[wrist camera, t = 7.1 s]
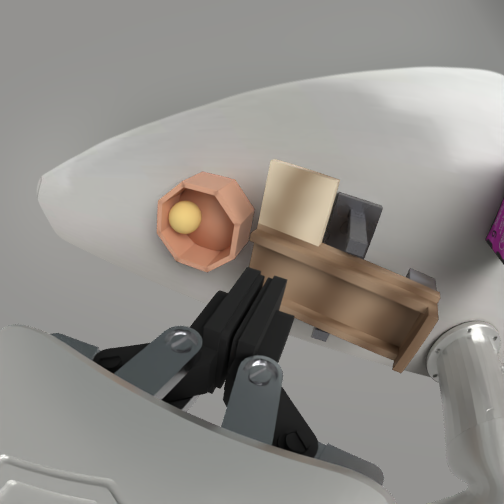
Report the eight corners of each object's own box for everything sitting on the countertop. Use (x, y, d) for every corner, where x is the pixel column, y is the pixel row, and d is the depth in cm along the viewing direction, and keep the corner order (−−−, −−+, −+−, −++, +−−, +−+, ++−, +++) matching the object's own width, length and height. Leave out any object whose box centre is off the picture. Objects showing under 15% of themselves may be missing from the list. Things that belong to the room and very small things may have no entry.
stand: (381, 205, 31) (390, 238, 23) (342, 305, 38) (336, 353, 30) (339, 192, 32) (334, 219, 24) (306, 293, 39) (292, 340, 31)
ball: (205, 209, 34) (169, 208, 32) (201, 240, 36) (167, 239, 34) (201, 196, 37) (169, 194, 36) (198, 225, 39) (168, 224, 38)
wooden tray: (462, 221, 23) (476, 249, 17) (404, 333, 30) (398, 377, 24) (289, 155, 29) (257, 164, 23) (262, 272, 36) (232, 302, 30)
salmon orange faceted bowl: (259, 185, 34) (245, 197, 30) (244, 260, 39) (230, 280, 35) (181, 166, 36) (159, 175, 32) (176, 238, 41) (156, 254, 37)
